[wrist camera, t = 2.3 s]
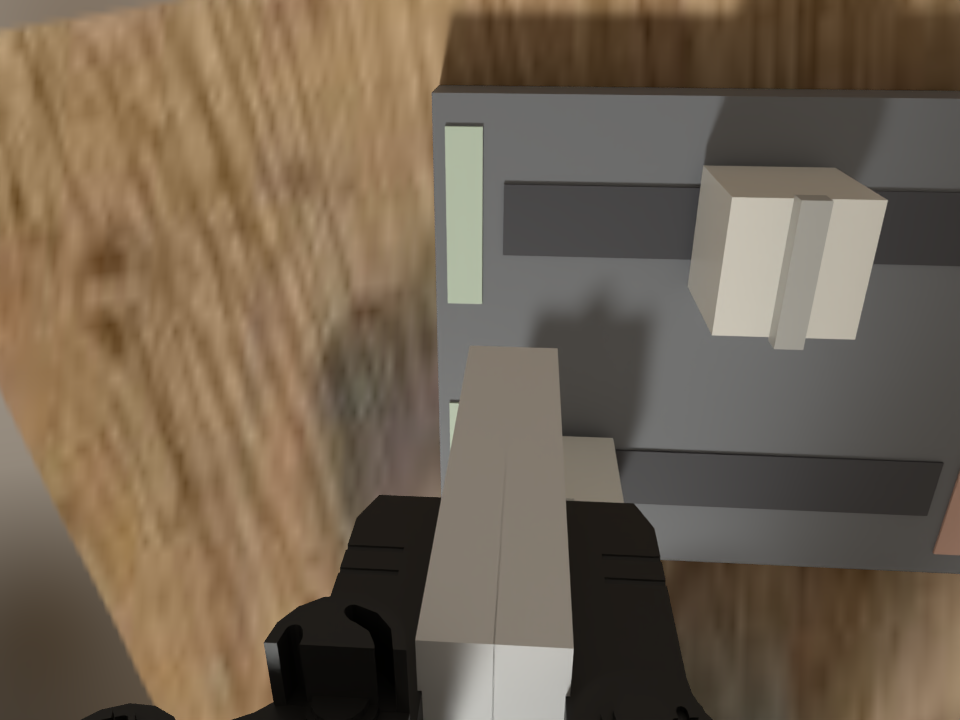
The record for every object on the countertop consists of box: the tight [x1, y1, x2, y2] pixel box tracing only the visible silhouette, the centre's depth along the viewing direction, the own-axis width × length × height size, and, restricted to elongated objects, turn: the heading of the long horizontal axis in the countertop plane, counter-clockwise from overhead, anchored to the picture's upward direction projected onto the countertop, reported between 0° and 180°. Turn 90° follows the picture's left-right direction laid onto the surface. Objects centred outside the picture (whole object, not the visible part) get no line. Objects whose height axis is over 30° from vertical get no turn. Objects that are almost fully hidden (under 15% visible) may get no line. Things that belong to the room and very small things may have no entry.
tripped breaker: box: [688, 165, 888, 350], centre depth 23 cm, size 4×4×5 cm
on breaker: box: [562, 436, 624, 503], centre depth 27 cm, size 4×4×5 cm
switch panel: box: [432, 85, 960, 574], centre depth 28 cm, size 18×21×2 cm
